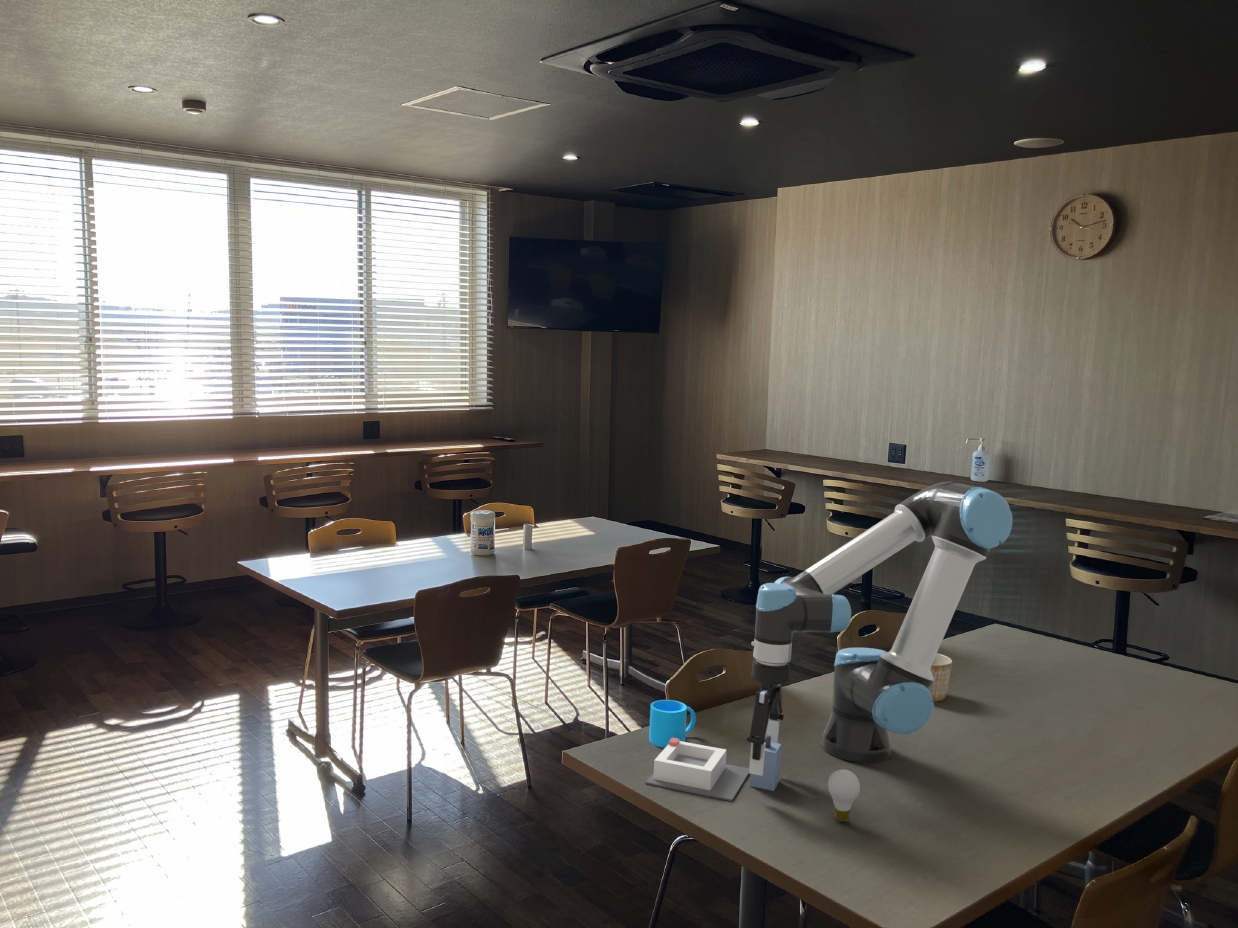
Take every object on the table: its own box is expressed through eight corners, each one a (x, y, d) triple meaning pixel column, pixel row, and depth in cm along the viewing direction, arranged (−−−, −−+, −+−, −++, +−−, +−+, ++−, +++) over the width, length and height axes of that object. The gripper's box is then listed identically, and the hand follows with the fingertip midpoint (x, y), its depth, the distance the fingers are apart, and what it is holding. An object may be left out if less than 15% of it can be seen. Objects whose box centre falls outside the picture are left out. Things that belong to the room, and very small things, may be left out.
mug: (663, 750, 210) (665, 714, 210) (642, 738, 217) (643, 703, 216) (705, 740, 217) (707, 705, 216) (683, 728, 224) (685, 694, 223)
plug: (778, 781, 197) (781, 734, 196) (773, 790, 192) (776, 743, 191) (755, 776, 199) (757, 730, 198) (749, 786, 194) (752, 738, 193)
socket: (750, 770, 202) (752, 746, 201) (731, 801, 187) (733, 775, 186) (670, 754, 208) (671, 731, 208) (645, 783, 193) (646, 758, 193)
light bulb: (821, 814, 183) (824, 763, 182) (851, 814, 184) (854, 764, 183) (831, 828, 177) (834, 777, 176) (861, 828, 178) (865, 777, 177)
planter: (954, 694, 256) (957, 656, 255) (942, 707, 245) (945, 668, 244) (907, 684, 263) (909, 647, 262) (893, 696, 252) (896, 658, 251)
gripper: (766, 642, 206) (759, 737, 208) (738, 674, 183) (730, 780, 185) (801, 648, 203) (793, 744, 205) (777, 680, 180) (768, 788, 182)
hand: (763, 761), depth 195 cm, fingers open, 13 cm apart
